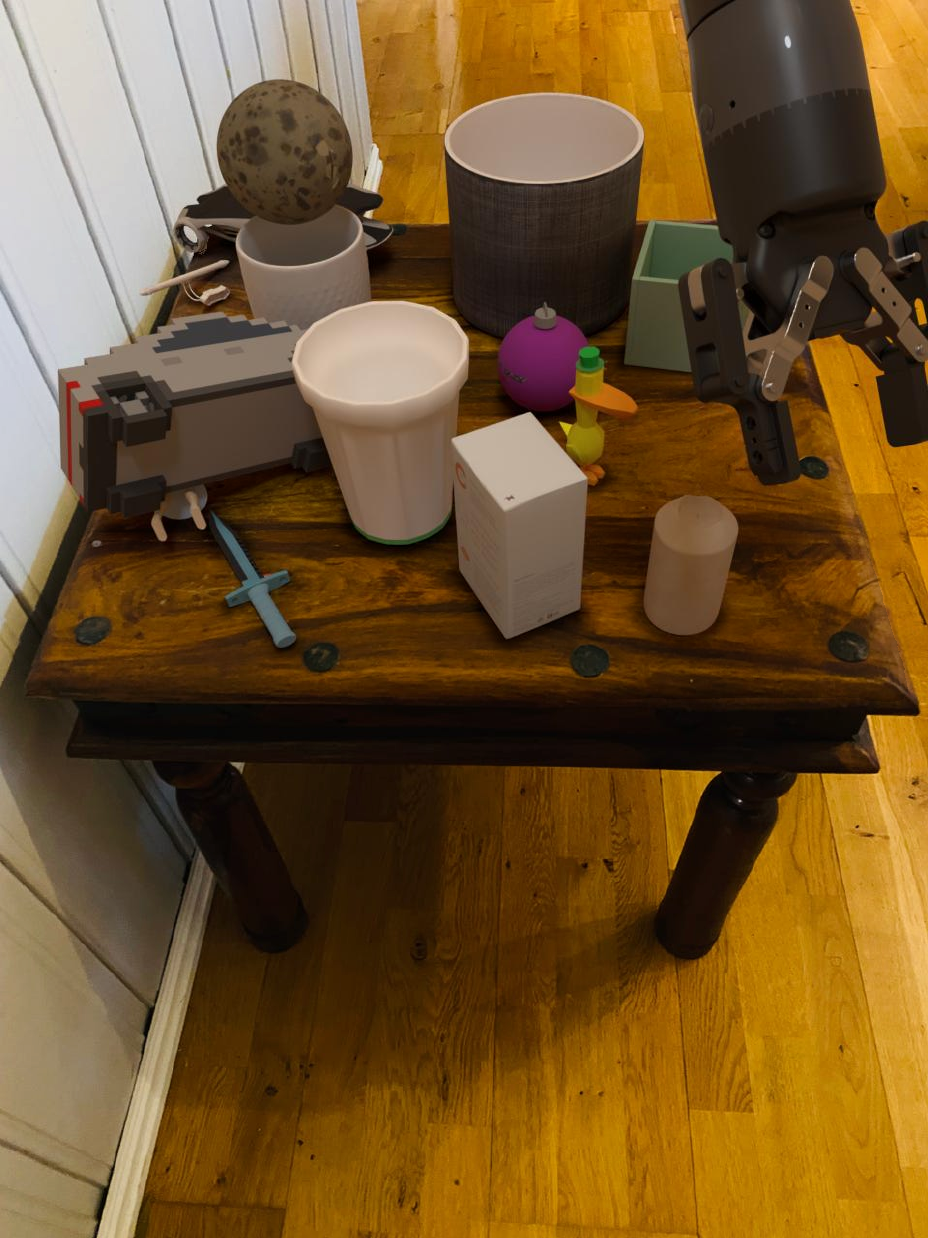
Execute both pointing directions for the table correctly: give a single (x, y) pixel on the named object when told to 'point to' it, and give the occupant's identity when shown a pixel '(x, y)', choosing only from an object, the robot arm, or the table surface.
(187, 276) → the picture light
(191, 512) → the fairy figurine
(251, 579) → the knife
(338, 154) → the decorative egg
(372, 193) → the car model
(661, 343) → the waste bin
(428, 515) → the cup
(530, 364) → the christmas ornament
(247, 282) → the mug
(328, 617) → the table surface
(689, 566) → the candle
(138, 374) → the toy car
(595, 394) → the toy figure
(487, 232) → the planter
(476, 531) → the small box
